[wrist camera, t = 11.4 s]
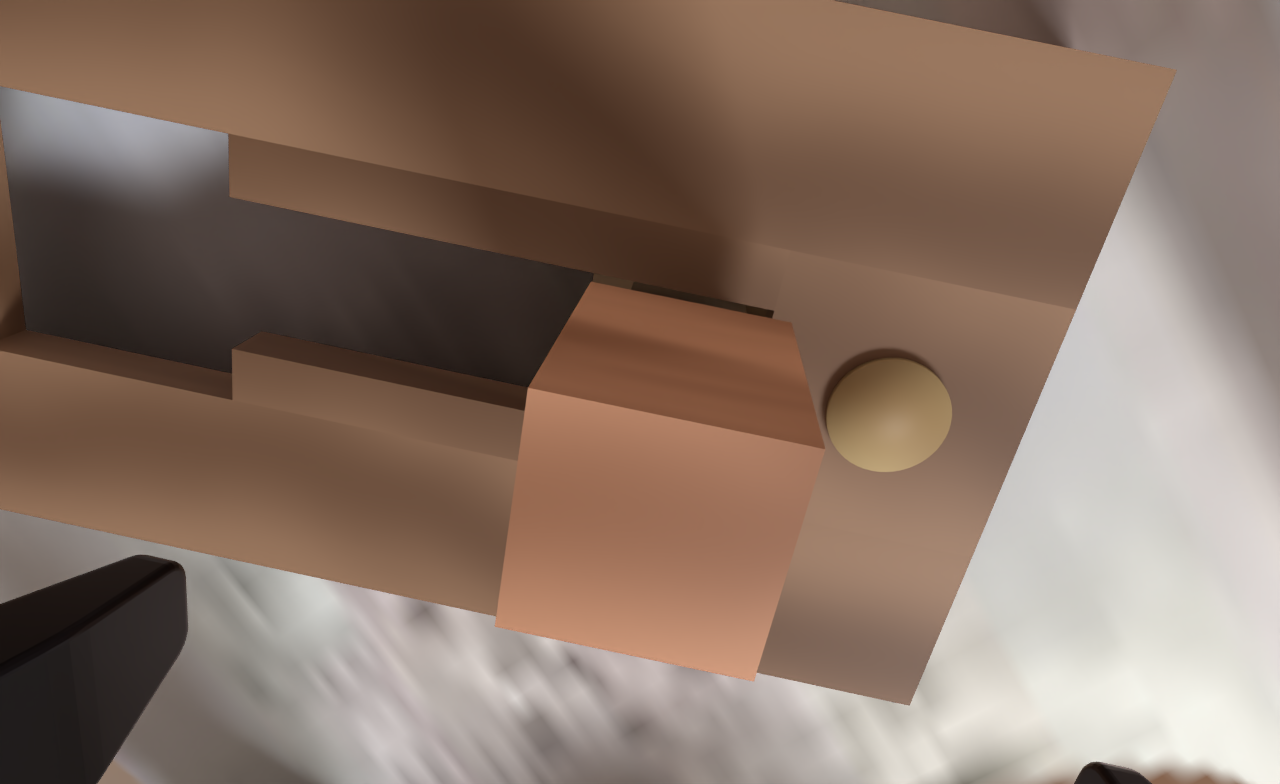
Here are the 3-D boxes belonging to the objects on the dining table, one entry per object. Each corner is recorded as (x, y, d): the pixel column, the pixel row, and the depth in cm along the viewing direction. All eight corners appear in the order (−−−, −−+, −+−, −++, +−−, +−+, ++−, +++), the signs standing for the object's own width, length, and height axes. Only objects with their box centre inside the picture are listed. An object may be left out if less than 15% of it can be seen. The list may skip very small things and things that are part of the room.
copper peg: (750, 408, 21) (775, 709, 11) (582, 374, 21) (463, 644, 11) (794, 241, 19) (868, 426, 9) (611, 204, 19) (499, 350, 9)
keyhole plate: (878, 599, 22) (911, 711, 19) (-22, 407, 23) (-174, 477, 19) (1078, 68, 17) (1183, 70, 13) (-111, -174, 17) (-350, -241, 13)
